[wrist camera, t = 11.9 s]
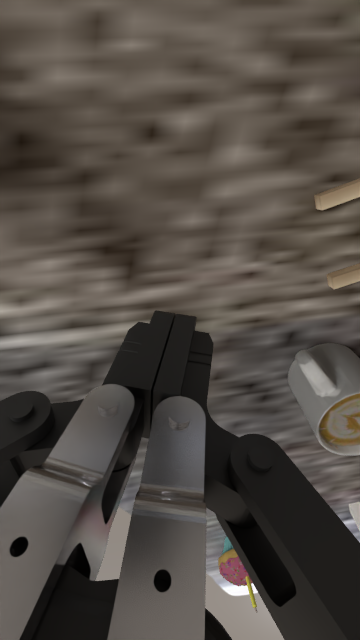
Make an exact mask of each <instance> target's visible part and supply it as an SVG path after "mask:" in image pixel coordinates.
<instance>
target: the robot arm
mask: <svg viewBox="0 0 360 640" xmlns="http://www.w3.org/2000/svg"><path fill="white" fill-rule="evenodd" d="M195 326H196V317H194V316H188V315H182V314H176V315H175V313H168V312H162V311H155V312H154V314H153V317H152V319H151V321H150V324H149V323H143V322H138V323H137V324H136V325H134V326H133V327H132V328H131V329H129V331H128V333H127V335H126V337H125V339H124V342H123V343H122V345H121V347H120V350H119V351H118V353H117V355H116V357H115V360H114V362H113V364H112V366H111V368H110V370H109V372H108V374H107V376H106V378H105V380H104V382H103V384H102V386H99V387H97V388H95V389H93V390H92V391H91V392H89V393H88V394H87V396H86V397H85V398H84V399H82V400H78V401H73V402H63V403H53V404H51V403H50V401H49V399H48V397H47V396H46V395H44V394H42V393H40V392H36V391H25V392H20V393H17V394H15V395H12V396H10V397H8V398H6V399H4V400H2V401H0V640H232V639H231V637H230V636H229V634H228V633H227V632H226V630H225V629H224V627H223V626H222V625H221V624H220V622H219V621H218V620H217V619H216V618H215V617H214V616H213V615H212V614H211V613H210V612H209V611H208V610H207V609H206V608H205V582H206V580H205V579H206V524H207V514H206V507H207V508H208V509H210V510H211V511H213V512H214V513H215V514H216V517H217V519H218V521H219V523H220V524H221V526H222V528H223V530H224V532H225V533H226V535H227V537H228V539H229V541H230V542H231V544H232V546H233V548H234V550H235V551H236V553H237V555H238V557H239V559H240V560H241V562H242V564H243V566H244V568H245V569H246V571H247V573H248V575H249V577H250V578H251V580H252V582H253V584H254V585H255V587H256V589H257V591H258V593H259V594H260V596H261V598H262V600H263V602H264V603H265V605H266V607H267V609H268V611H269V612H270V614H271V616H272V618H273V620H274V621H275V623H276V625H277V627H278V628H279V630H280V632H281V634H282V636H283V638H284V639H285V640H360V543H359V541H358V540H357V539H356V538H355V537H354V535H353V534H352V533H351V532H350V531H349V529H348V528H347V527H346V526H345V524H344V523H343V522H342V521H341V520H340V518H339V517H338V516H337V515H336V514H335V512H334V511H333V510H332V509H331V508H330V506H329V505H328V504H327V503H326V502H325V500H324V499H323V498H322V497H321V496H320V494H319V493H318V492H317V491H316V490H315V488H314V487H313V486H312V485H311V484H310V482H309V481H308V480H307V479H306V477H305V476H304V475H303V474H302V473H301V471H300V470H299V469H298V468H297V467H296V465H295V464H294V463H293V462H292V461H291V459H290V458H289V457H288V456H287V455H286V453H285V452H284V451H283V450H282V449H281V447H280V446H279V445H278V444H277V443H275V442H274V441H273V440H271V439H270V438H268V437H265V436H263V435H259V434H247V435H244V436H241V437H240V438H239V437H237V436H235V435H233V434H231V433H230V432H228V431H226V430H224V429H222V428H221V427H219V426H218V425H217V424H216V423H215V422H214V421H213V420H212V418H211V417H210V415H209V413H208V410H207V395H208V387H209V378H210V369H211V361H212V352H213V342H212V339H211V337H210V335H209V333H205V332H199V331H195ZM141 437H144V438H149V441H148V446H147V451H146V457H145V462H144V467H143V473H142V478H141V483H140V488H139V491H138V492H137V495H136V498H135V502H134V506H133V511H132V516H131V521H130V526H129V532H128V536H127V541H126V547H125V552H124V557H123V562H122V567H121V572H120V578H119V579H114V580H105V581H95V580H96V577H97V574H98V572H99V569H100V566H101V563H102V561H103V558H104V554H105V551H106V547H107V543H108V537H109V532H110V528H111V525H112V522H113V520H114V517H115V514H116V512H117V509H118V506H119V504H120V501H121V498H122V496H123V493H124V490H125V488H126V485H127V482H128V480H129V477H130V474H131V472H132V469H133V466H134V464H135V460H136V454H137V451H138V448H139V444H140V441H141Z"/></svg>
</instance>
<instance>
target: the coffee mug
mask: <svg viewBox="0 0 360 640" xmlns="http://www.w3.org/2000/svg"><path fill="white" fill-rule="evenodd" d="M288 383H289V386H290V388H291V390H292V392H293V394H294V395H295V397H296V399H297V401H298V403H299V405H300V407H301V409H302V411H303V413H304V415H305V416H306V418H307V420H308V422H309V424H310V426H311V428H312V430H313V432H314V434H315V435H316V437H317V439H318V441H319V442H320V444H321V445H322V446H323V447H324V448H325V449H327V450H328V451H330V452H332V453H335V454H339V455H347V456H354V455H360V358H359V357H358V356H357V355H356V354H355V353H354V352H353V351H352V350H351V349H349V348H348V347H346V346H344V345H341V344H336V343H325V344H320V345H316V346H314V347H311V348H309V349H307V350H306V349H303V350H301V351H299V352H298V353H297V354H296V356H295V360H294V362H293V363H292V365H291V367H290V369H289V373H288Z"/></svg>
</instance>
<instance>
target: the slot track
mask: <svg viewBox="0 0 360 640" xmlns="http://www.w3.org/2000/svg"><path fill="white" fill-rule="evenodd" d="M314 197H315V203H316V209H319V210H325V209H328V208H330V207H333V206H336V205H339V204H341V203H344V202H347V201H350V200H353V199H355V198H358V197H360V179H357V180H354V181H352V182H349V183H346V184H343V185H341V186H338V187H335V188H333V189H330V190H327V191H324V192H322V193H319V194H316V195H314ZM327 280H328V285H329V286H330V287H331V288H333V289H337V288H340V287H343V286H346V285H349V284H352V283H355V282H358V281H360V263H359V264H356V265H353V266H350V267H347V268H344V269H341V270H338V271H335V272H332V273H329V274H327Z"/></svg>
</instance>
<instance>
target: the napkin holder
mask: <svg viewBox="0 0 360 640" xmlns="http://www.w3.org/2000/svg"><path fill="white" fill-rule="evenodd" d="M349 508H350V513H351V515H352V517H353V519H354V521H355V523H356V525H357V527H358V529H359V530H360V502H357V503H352V504H349Z"/></svg>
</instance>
